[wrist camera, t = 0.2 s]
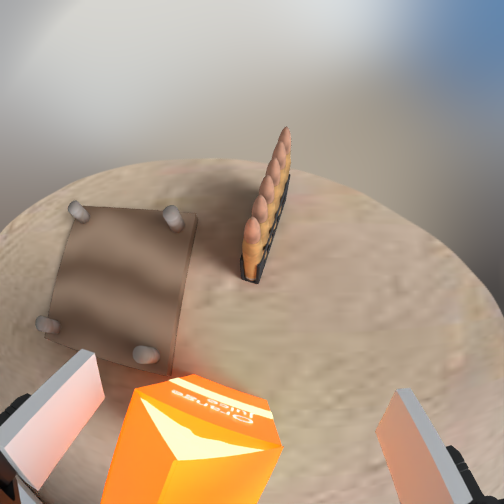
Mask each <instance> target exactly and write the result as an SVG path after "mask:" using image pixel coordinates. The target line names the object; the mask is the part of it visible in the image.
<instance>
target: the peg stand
mask: <svg viewBox="0 0 504 504" xmlns="http://www.w3.org/2000/svg"><path fill="white" fill-rule="evenodd" d="M68 211H69V212H70V213H71V214H72V215H73V216H74V217H75V220H74V223H73V226H72V229H71V231H70V234H69V237H68V240H67V244H66V247H65V250H64V253H63V257H62V260H61V264H60V267H59V271H58V275H57V278H56V282H55V286H54V291H53V295H52V299H51V304H50V309H49V314H48V318H46V317H43V316H38V317H37V319H36V328H37V329H38V330H39V331H43V332H45V338H46V339H48V340H51V341H53V342H56V343H58V344H61V345H64V346H66V347H69V348H72V349H74V350H77V351H80V350H81V349H84V350H87V351H90V352H93V353H95V356H96V357H98V358H101V359H104V360H107V361H111V362H114V363H118V364H121V365H125V366H128V367H132V368H136V369H139V370H143V371H147V372H151V373H156V374H160V375H164V376H169V375H171V372H172V364H173V357H174V350H175V343H176V336H177V330H178V324H179V317H180V311H181V305H182V300H183V294H184V288H185V283H186V278H187V272H188V267H189V262H190V257H191V252H192V247H193V242H194V237H195V233H196V228H197V223H198V218H197V215H196V213H185V212H179V210H178V208H177V207H176V206H173V205H170V206H167V207H166V208H165V209H164V210H163V211H159V210H144V209H129V208H111V207H92V206H82V205H81V204H80V203H79V202H78V201H73V202H71V203H70V204H69V206H68Z"/></svg>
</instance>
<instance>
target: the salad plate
mask: <svg viewBox="0 0 504 504" xmlns="http://www.w3.org/2000/svg"><path fill="white" fill-rule="evenodd" d="M15 477H16V479H17V482H18V489H19V495H20V500H21V504H43V503H42V502H41V501H40V500H39V499H38V498H37V497H36V496H35V495H34V493H33V492H32V491H31V490H30V489H29V488H28V487H27V486H26V485H25V483H24V482H23V481H22V480H21V479H20V477H19V476H18V475H16V476H15Z"/></svg>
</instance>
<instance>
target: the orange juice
mask: <svg viewBox="0 0 504 504" xmlns="http://www.w3.org/2000/svg"><path fill="white" fill-rule="evenodd" d="M283 447H284V446H282V447H281V442H280V439H279V436H278V433H277V430H276V427H275V424H274V421H273V416H272V413H271V412H270V409H269V406H268V403H267V400H264V399H261V398H257V397H254V396H251V395H248V394H245V393H242V392H239V391H237V390H234V389H231V388H228V387H225V386H223V385H220V384H217V383H215V382H212V381H210V380H207V379H205V378H202V377H200V376H197V375H195V374H193V375H189V376H185V377H182V378H175V379H171V380H169V381H166V382H162V383H158V384H153V385H149V386H145V387H140V388H135V390H134V393H133V396H132V399H131V401H130V404H129V407H128V410H127V413H126V416H125V419H124V423H123V426H122V429H121V432H120V435H119V438H118V442H117V445H116V448H115V451H114V455H113V458H112V462H111V465H110V469H109V472H108V476H107V480H106V483H105V487H104V491H103V495H102V499H101V503H100V504H257V502H258V500H259V498H260V496H261V494H262V492H263V490H264V488H265V486H266V484H267V482H268V480H269V478H270V475H271V473H272V471H273V469H274V467H275V465H276V463H277V460H278V458H279V456H280V454H281V451H282V449H283Z"/></svg>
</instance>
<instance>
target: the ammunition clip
mask: <svg viewBox="0 0 504 504" xmlns="http://www.w3.org/2000/svg"><path fill="white" fill-rule="evenodd" d="M290 149H291V136H290V131H289V129H288V127H285V128H284V129H283V130H282V132H281V134H280V136H279V140H278V143H277V145H276V147H275V149H274V152H273V156H272V160H271V161H270V163H269V165H268V167H267V171H266V176H265V177H264V179H263V181H262V183H261V185H260V189H259V196H258V197H257V198H256V199H255V201H254V204H253V207H252V215H251V217H250V218H249V219H248V220H247V222H246V225H245V229H244V240H243V242H242V252H243V253H242V255H241V258H240V268H241V278H242V279H243V280H246V281H249V282H252V283H255V284H258V283H259V281H260V278H261V275H262V272H263V269H264V266H265V263H266V260H267V257H268V254H269V251H270V247H271V244H272V241H273V238H274V235H275V232H276V229H277V226H278V223H279V220H280V216H281V213H282V210H283V207H284V204H285V201H286V196H287V191H288V185H289V180H290V174H289V170H290V164H291V160H290V152H291V151H290Z"/></svg>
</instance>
